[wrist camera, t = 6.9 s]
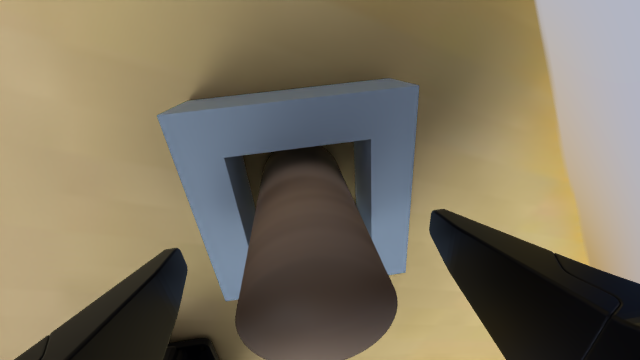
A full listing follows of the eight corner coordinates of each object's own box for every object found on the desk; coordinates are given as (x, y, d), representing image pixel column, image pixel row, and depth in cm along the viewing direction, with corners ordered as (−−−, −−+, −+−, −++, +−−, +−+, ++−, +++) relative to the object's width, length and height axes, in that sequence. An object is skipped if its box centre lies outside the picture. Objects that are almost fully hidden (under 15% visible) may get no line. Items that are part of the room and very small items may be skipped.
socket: (385, 235, 16) (405, 272, 13) (236, 257, 15) (225, 301, 13) (389, 78, 12) (419, 85, 9) (187, 100, 11) (156, 115, 9)
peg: (341, 206, 15) (394, 352, 7) (269, 216, 14) (254, 377, 7) (336, 137, 13) (401, 242, 6) (255, 147, 13) (214, 271, 5)
